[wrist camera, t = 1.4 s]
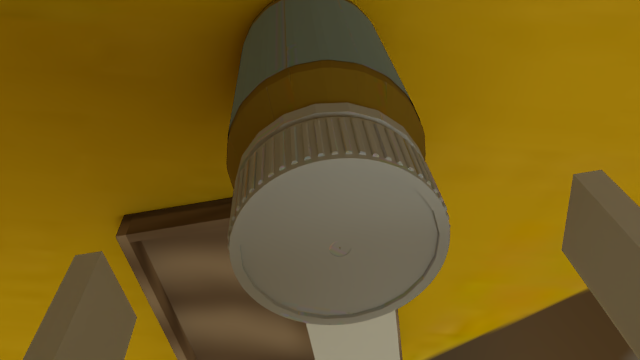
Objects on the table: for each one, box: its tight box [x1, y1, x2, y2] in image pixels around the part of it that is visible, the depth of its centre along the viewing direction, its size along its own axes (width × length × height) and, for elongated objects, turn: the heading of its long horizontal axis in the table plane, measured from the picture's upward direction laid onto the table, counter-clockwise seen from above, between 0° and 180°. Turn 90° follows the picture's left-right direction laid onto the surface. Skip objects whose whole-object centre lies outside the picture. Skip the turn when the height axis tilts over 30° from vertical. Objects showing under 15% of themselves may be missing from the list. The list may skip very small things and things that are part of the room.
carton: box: [306, 310, 400, 360], centre depth 32 cm, size 10×5×6 cm, turn 9°
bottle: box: [227, 0, 450, 325], centre depth 20 cm, size 7×7×15 cm
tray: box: [116, 198, 402, 360], centre depth 35 cm, size 17×16×2 cm
